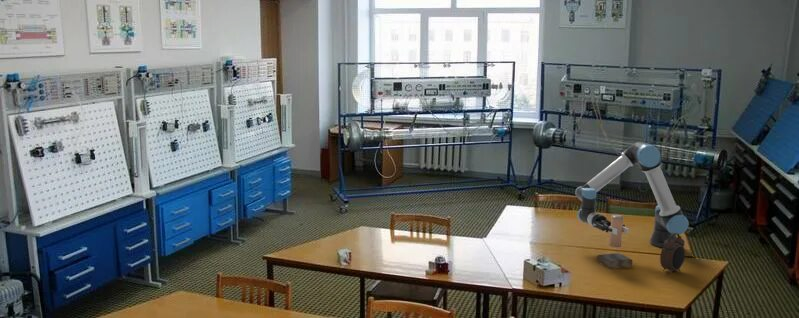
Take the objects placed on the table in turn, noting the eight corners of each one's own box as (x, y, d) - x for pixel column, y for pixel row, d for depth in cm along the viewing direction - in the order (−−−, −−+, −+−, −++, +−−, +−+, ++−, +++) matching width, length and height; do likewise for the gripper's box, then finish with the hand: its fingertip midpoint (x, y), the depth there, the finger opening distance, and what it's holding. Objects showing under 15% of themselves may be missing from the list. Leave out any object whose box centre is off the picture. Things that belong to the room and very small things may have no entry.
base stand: (618, 260, 383) (619, 252, 382) (631, 266, 372) (632, 259, 371) (597, 261, 379) (597, 254, 378) (610, 268, 368) (610, 261, 367)
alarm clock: (670, 276, 358) (674, 237, 354) (657, 272, 363) (660, 234, 360) (686, 270, 367) (689, 232, 363) (673, 267, 372) (676, 229, 369)
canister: (616, 243, 377) (619, 214, 375) (623, 247, 372) (625, 217, 369) (606, 244, 376) (609, 214, 373) (613, 247, 370) (615, 217, 367)
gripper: (612, 226, 393) (637, 237, 371) (581, 228, 387) (605, 239, 365) (613, 213, 391) (638, 223, 370) (582, 214, 386) (606, 225, 364)
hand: (622, 231), depth 367 cm, fingers closed on canister, 6 cm apart
